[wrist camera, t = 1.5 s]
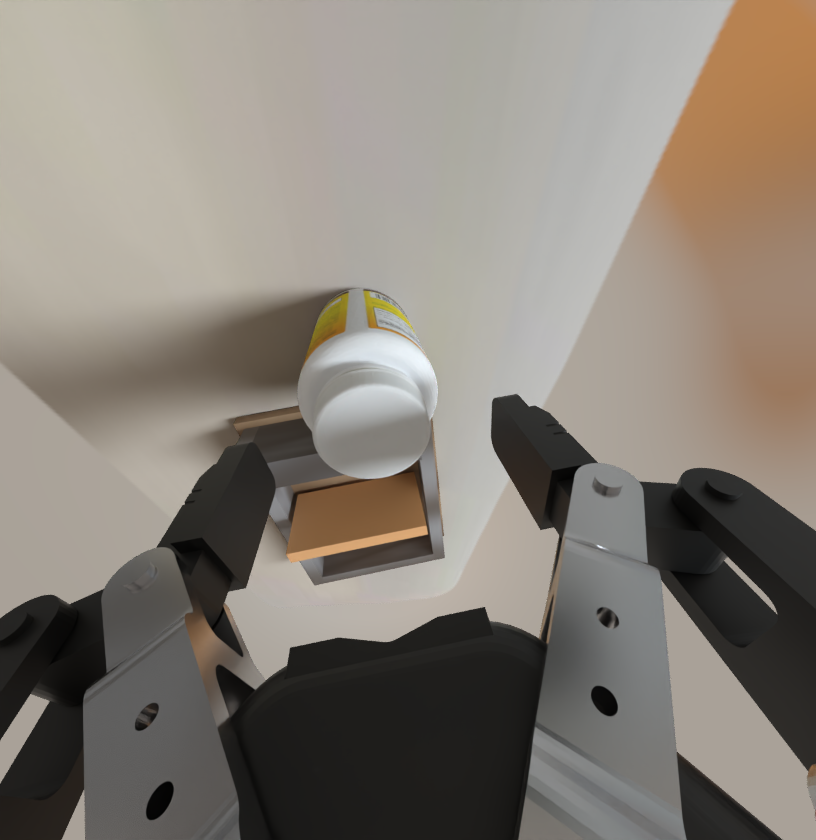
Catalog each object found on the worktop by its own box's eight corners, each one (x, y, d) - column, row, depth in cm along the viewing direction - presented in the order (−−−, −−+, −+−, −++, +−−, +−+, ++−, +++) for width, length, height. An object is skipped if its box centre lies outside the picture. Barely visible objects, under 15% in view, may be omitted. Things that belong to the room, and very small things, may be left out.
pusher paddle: (297, 494, 23) (285, 554, 19) (414, 471, 24) (426, 525, 20) (302, 502, 24) (291, 562, 20) (415, 480, 24) (427, 534, 20)
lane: (236, 417, 20) (208, 466, 16) (426, 382, 21) (443, 422, 17) (314, 555, 30) (308, 606, 26) (441, 529, 31) (454, 575, 27)
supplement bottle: (324, 378, 20) (301, 502, 11) (309, 286, 16) (262, 364, 8) (409, 374, 20) (447, 488, 12) (411, 284, 17) (464, 355, 9)
